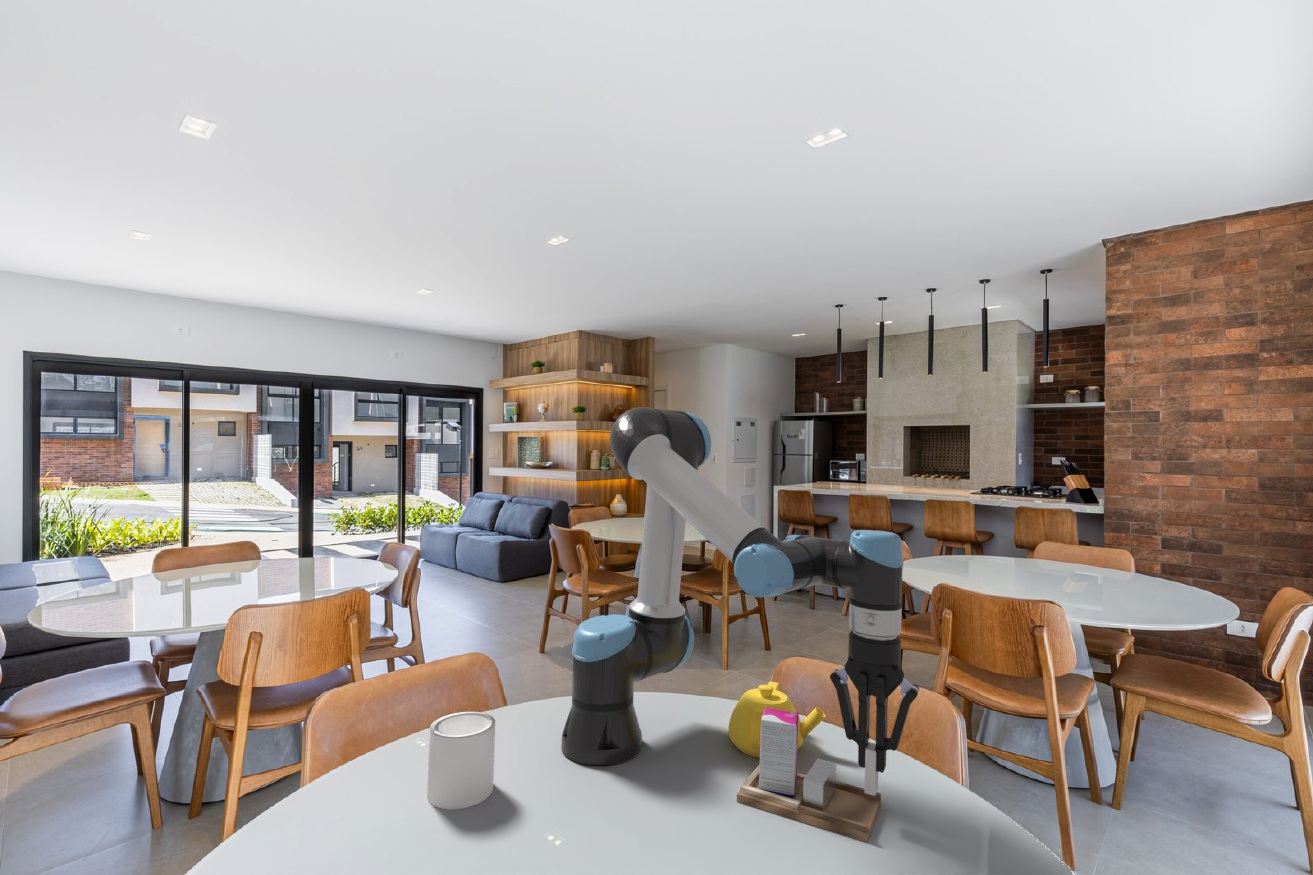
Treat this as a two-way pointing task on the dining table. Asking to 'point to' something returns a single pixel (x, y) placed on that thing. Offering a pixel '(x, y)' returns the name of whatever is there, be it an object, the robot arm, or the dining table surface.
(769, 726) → the supplement box
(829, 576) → the robot arm
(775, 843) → the dining table surface
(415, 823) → the dining table surface
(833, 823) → the board
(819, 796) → the block
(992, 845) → the dining table surface
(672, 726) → the dining table surface
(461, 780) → the mug
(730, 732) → the teapot
